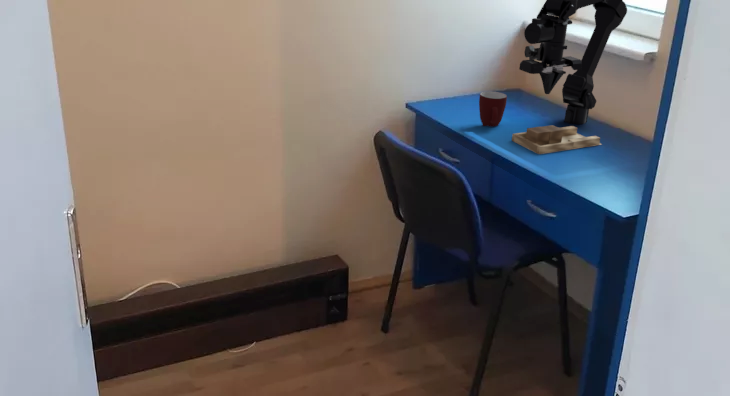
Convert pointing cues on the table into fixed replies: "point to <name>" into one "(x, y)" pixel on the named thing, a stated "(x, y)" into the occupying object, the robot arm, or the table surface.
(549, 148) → the slot board
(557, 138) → the brown cube
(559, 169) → the table surface
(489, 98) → the mug
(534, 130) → the brown wooden cube
